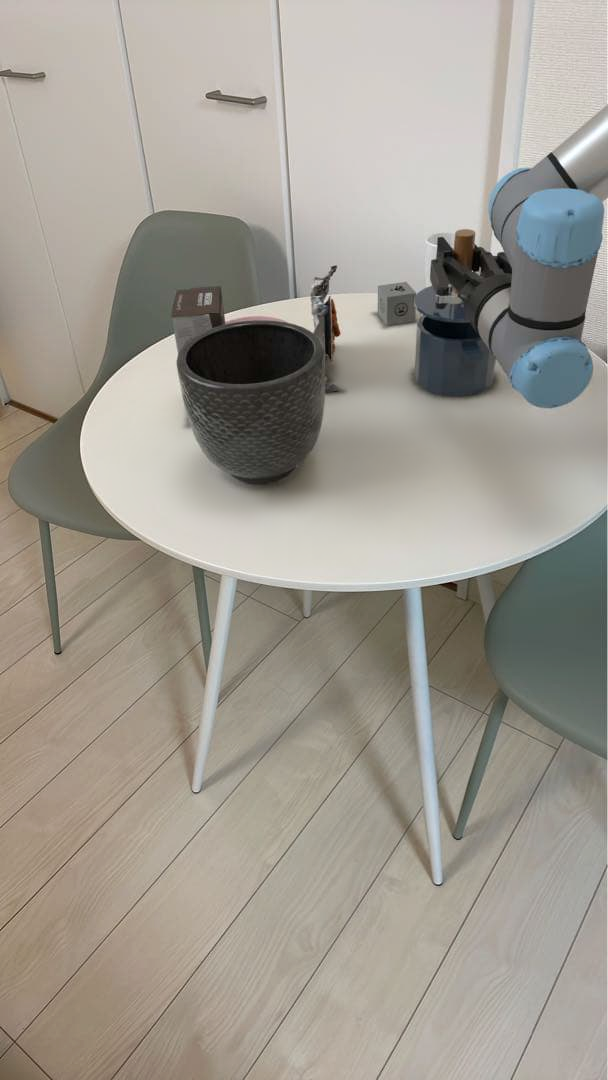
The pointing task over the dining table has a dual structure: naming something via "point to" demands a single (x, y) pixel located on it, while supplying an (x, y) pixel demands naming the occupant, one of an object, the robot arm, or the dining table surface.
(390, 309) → the dice cube
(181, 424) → the dining table surface
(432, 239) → the drinking glass
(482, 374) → the pot
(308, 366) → the planter
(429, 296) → the lid
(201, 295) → the coffee box
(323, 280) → the meal
